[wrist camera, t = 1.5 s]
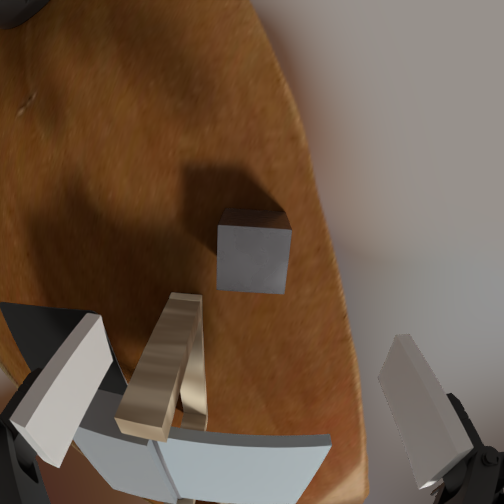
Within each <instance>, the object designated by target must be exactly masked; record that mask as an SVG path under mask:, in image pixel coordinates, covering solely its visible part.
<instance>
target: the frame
mask: <svg viewBox="0 0 504 504" xmlns="http://www.w3.org/2000/svg"><path fill="white" fill-rule="evenodd" d="M180 392H181V399H182V404H183V410H184V415H183V419H182V423H181V428H183V429H190V430H197V431H206V426H207V421H208V411H207V397H206V382H205V364H204V343H203V316H202V295H196V294H184V293H174V292H172V293H171V295H170V297H169V300H168V302H167V304H166V306H165V308H164V310H163V312H162V314H161V316H160V318H159V320H158V322H157V324H156V326H155V328H154V330H153V332H152V334H151V336H150V338H149V341H148V343H147V345H146V347H145V349H144V351H143V353H142V355H141V358H140V360H139V362H138V364H137V366H136V368H135V371H134V373H133V375H132V377H131V380H130V382H129V384H128V386H127V389H126V391H125V393H124V395H123V398H122V400H121V402H120V405H119V407H118V409H117V412H116V414H115V416H114V418H115V420H116V422H117V424H118V426H119V429H120V431H121V433H124V434H128V435H132V436H137V437H141V438H146V439H150V440H155V441H160V442H166V443H167V439H168V435H169V431H170V427H171V423H172V419H173V416H174V412H175V408H176V404H177V400H178V397H179V393H180ZM195 501H196V500H195V499H188V498H184V499H181V500H178V499H177V504H195ZM164 504H172V503H167V502H164Z"/></svg>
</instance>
